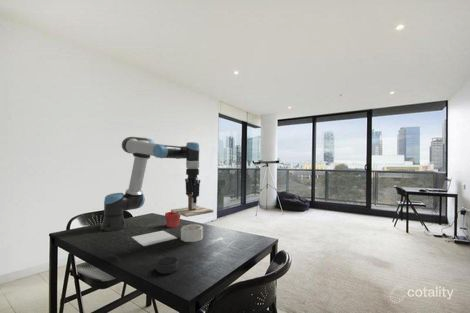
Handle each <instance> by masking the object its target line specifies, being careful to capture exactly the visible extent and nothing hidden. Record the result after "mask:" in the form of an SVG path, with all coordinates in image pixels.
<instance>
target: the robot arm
mask: <svg viewBox="0 0 470 313" xmlns="http://www.w3.org/2000/svg"><path fill="white" fill-rule="evenodd" d="M121 148H122V150H123V151H124V152H126V153H127V154H132V156H133V157H134V159H133V164H132V170H131V174H130V175H131V176H130V180H129V184H128V188H127V189H126V190H125V193H123V192H117V193H116V192H113V193H110V194H107V195H105V196H104V201H103V207H104V208H103V212H104V213H103V219H102V221H101V225H100V230H101V231H103V230H104V231H103V232H112V231H119V230H122V229H125V228H126V226H127V224H126V220H125V218H124V212H125V211H132V210H136V209H140V208H141V207H143V206H144V204H145V200H146V199H145V195H144V192H143V191H142V188H143V182H144V177H145V172H146V168H147V163H148V159H149V160H150V159H151V157H155V158H156V159H176V160H177V159H179V160H180V159H185V160H186V162H185V165H186V167H185V168H186V169H185V174H186V176H187V178H185V179H184V181H185V182H184V183H185V195H186V196H187V200H188V199H189V195H190V194H193V197H192V209H194V208H196V206H197V200H198V199H197V198H198V197H200V183H201V179H199V178H198V175H200V144H199V142H195V141H192V142H191V141H190V142H186V145H185V146H183V145H182V146H178V145H167V144H161V143H160V144H159V143H155V142H154V140H152V139H151V138H147V137H139V136H138V137H136V136H129V137H126V138H124V139H123V140H122V142H121Z"/></svg>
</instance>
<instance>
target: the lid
mask: <svg viewBox="0 0 470 313" xmlns="http://www.w3.org/2000/svg"><path fill="white" fill-rule="evenodd" d="M192 197H193V194H190V195H189V199H188V198H187V205H188V206H187V207H180V208H173V209H170V212H173V213H176V214H179V215H180V216H183V217H186V218H189V217H194V216H195V217H196V216H199V215H205V214H212V213H214V209H211V208H206V207H203V206H200V205H199V206H198V205H196V208H194V209H192Z"/></svg>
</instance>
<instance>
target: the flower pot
mask: <svg viewBox="0 0 470 313" xmlns="http://www.w3.org/2000/svg"><path fill="white" fill-rule="evenodd" d="M164 217H165V224H166V227H167V228H177V227H179V224H180V220H181V215H179V214H176V213H173V212H171V211H167V212H165V213H164Z"/></svg>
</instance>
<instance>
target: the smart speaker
mask: <svg viewBox="0 0 470 313" xmlns="http://www.w3.org/2000/svg"><path fill="white" fill-rule="evenodd" d="M178 269H179V260H178V258H177V257H174V256H165V257H162V258H160V259H158V260H157V262H156V272H157V273H159V274H162V275H168V274H173V273H174V272H175V273H176V271H178Z"/></svg>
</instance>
